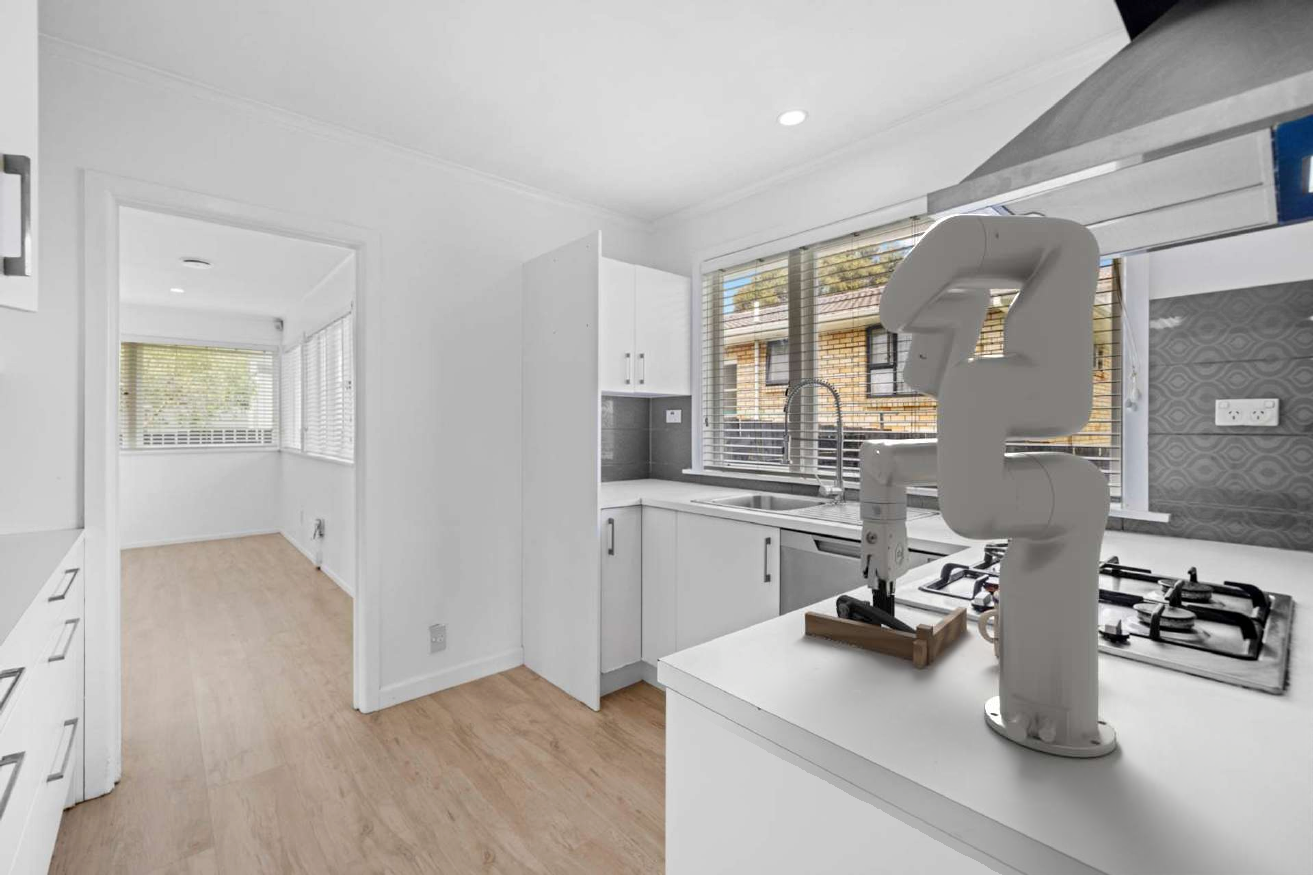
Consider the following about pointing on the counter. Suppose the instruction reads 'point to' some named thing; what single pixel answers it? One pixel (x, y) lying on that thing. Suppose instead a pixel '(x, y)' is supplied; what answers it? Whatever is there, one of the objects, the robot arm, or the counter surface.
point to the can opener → (868, 614)
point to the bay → (891, 635)
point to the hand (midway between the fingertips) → (883, 616)
